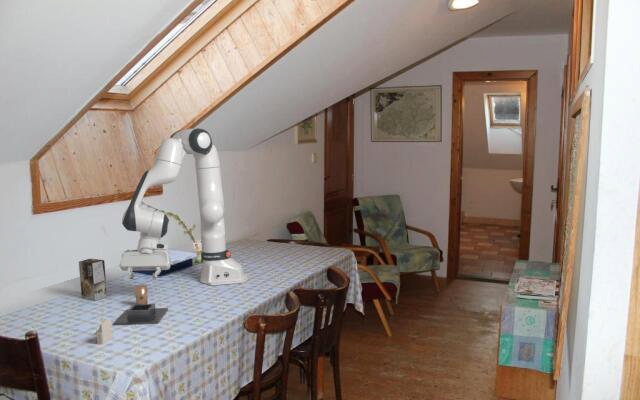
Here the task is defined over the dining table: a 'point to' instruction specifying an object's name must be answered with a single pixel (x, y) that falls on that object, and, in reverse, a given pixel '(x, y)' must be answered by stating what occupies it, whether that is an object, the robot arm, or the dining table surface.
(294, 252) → the dining table surface
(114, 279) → the dining table surface
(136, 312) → the duct collar
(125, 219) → the robot arm
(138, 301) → the copper pipe stub
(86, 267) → the coffee box
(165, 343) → the dining table surface
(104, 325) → the architectural model
